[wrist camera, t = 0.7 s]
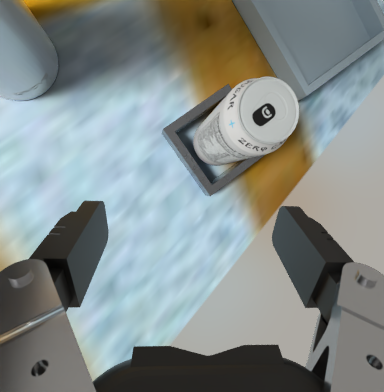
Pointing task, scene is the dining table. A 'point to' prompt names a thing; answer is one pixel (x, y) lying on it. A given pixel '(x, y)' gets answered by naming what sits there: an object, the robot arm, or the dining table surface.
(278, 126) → the energy drink can
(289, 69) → the tray
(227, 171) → the can socket
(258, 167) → the dining table surface
